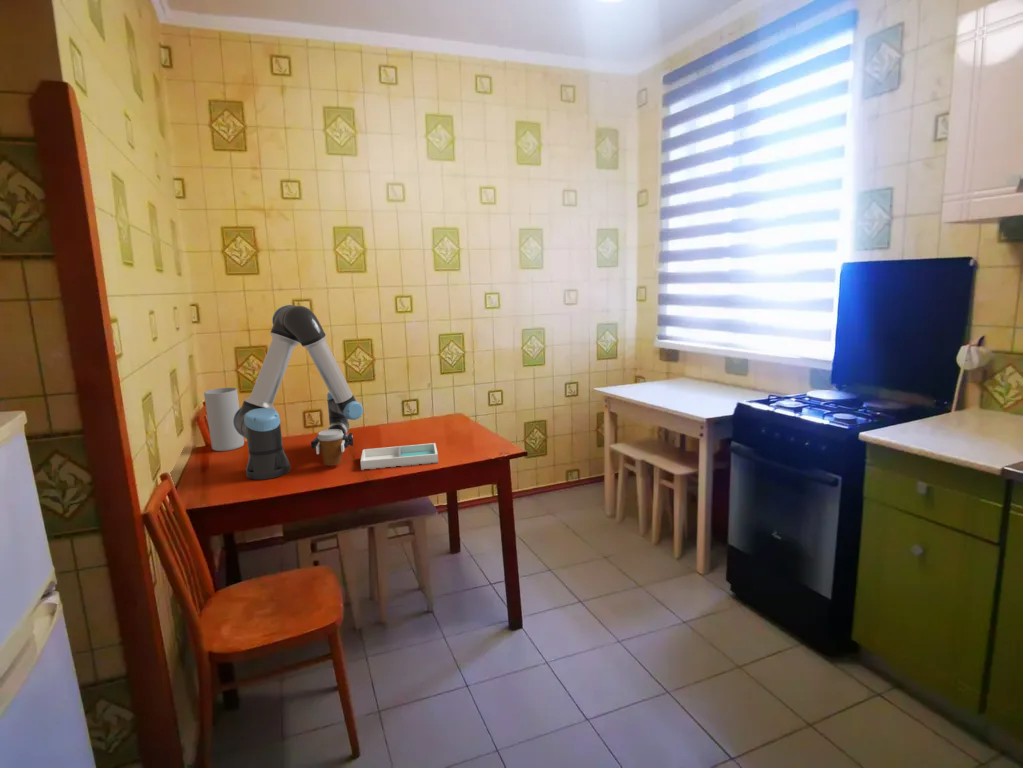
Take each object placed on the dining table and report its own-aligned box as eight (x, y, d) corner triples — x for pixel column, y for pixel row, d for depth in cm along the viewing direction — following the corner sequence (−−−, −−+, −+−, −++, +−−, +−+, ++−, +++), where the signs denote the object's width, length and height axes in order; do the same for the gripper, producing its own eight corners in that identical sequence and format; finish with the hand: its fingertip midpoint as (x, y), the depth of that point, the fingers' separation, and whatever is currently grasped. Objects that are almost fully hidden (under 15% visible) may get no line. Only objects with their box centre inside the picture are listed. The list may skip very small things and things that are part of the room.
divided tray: (361, 470, 207) (360, 461, 206) (363, 457, 221) (362, 449, 220) (438, 462, 212) (437, 454, 211) (435, 451, 226) (435, 443, 225)
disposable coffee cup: (338, 467, 206) (335, 436, 204) (314, 466, 208) (311, 435, 205) (350, 459, 215) (348, 429, 213) (327, 458, 217) (325, 428, 215)
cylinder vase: (235, 451, 235) (227, 393, 230) (206, 452, 235) (197, 394, 231) (249, 442, 247) (242, 387, 242) (222, 443, 248) (214, 388, 243)
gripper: (363, 440, 230) (359, 457, 208) (310, 444, 226) (300, 461, 204) (362, 422, 229) (358, 437, 207) (308, 426, 225) (299, 441, 203)
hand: (329, 449), depth 206 cm, fingers closed on disposable coffee cup, 8 cm apart
